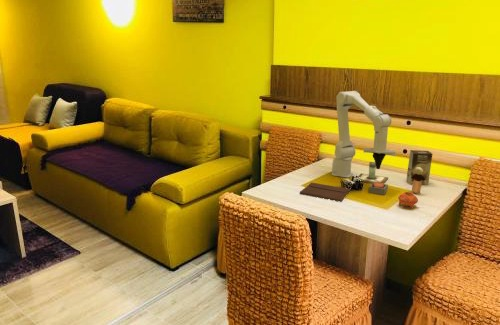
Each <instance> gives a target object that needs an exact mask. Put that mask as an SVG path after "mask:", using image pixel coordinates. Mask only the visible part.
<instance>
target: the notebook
mask: <svg viewBox="0 0 500 325" xmlns="http://www.w3.org/2000/svg"><path fill="white" fill-rule="evenodd" d="M350 191H351V192H352V189H351V188H347V189H346V187H339V186H333V185H329V184H324V183H317V182H310V183H309V184H308V185H306V186H305V187H304V188H303V189H301V190H300V191H299V195H302V196H307V197H313V198H317V197H318V198H319V199H323V198H324V200H328V199H330V201H333V200H335V201H334V202H338V201H340V202H339V203H341V202H342V201H343V200H344V199H345V198H346V197H347V196H348V195H349V194H350V193H351V192H350ZM349 192H350V193H349ZM348 193H349V194H348ZM347 194H348V195H347ZM346 195H347V196H346ZM345 196H346V197H345ZM344 197H345V198H344Z"/></svg>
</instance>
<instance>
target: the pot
mask: <svg viewBox="0 0 500 325" xmlns="http://www.w3.org/2000/svg"><path fill="white" fill-rule="evenodd" d="M418 202H419V198H418V197H417V196H416V195H415V193H410V191H405V192H403V193H401V194H400V195H399V196H398V206H400V207H401V206H402V205H404V206H408V207H410V209H413V208H414V206H415V205H416V204H417V203H418Z"/></svg>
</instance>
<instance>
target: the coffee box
mask: <svg viewBox="0 0 500 325" xmlns="http://www.w3.org/2000/svg"><path fill="white" fill-rule="evenodd" d="M432 159H433V153H432V152H431V151H429V150H414V149H413V150H412V149H410V150H409V158H408V165H407V173H406V179H405V181H406V182H407V183H408V184H409V185H413V181H414V179H412V181H409V180H410V178H411V176H412V175H414V174H416V170H415V169H416V168H417V167H421V168H422V170H423V172H422V173H421V174H420V175H422V176H424V177H425V179H426V182H427V183H426V184H425V183H424V181H423V180H421V186H424V185H425V186H428V185H429V182H430V181H429V180H430V175H431V168H432Z"/></svg>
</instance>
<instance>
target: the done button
mask: <svg viewBox="0 0 500 325" xmlns="http://www.w3.org/2000/svg"><path fill="white" fill-rule="evenodd" d="M384 184H385V183H384ZM384 184H383V183H381V182H375V183H374V187H378V188H383V186H384Z"/></svg>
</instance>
